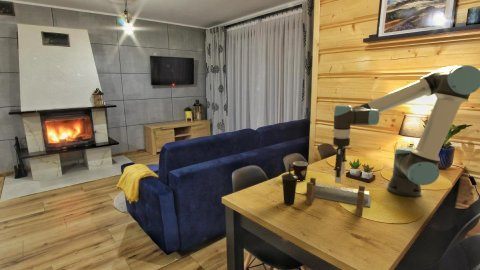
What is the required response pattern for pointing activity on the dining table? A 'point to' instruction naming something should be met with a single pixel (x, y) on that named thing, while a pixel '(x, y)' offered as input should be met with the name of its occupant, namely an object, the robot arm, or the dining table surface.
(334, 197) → the grey flat panel
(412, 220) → the dining table surface
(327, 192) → the alu bar
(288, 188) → the drinking cup
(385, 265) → the dining table surface
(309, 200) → the walnut cradles
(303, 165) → the coffee mug
